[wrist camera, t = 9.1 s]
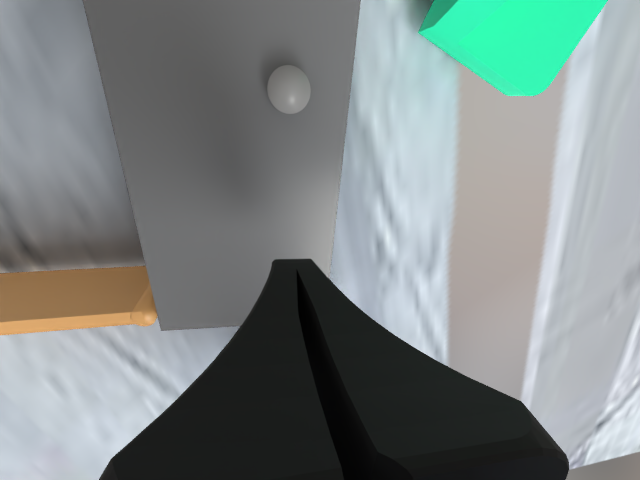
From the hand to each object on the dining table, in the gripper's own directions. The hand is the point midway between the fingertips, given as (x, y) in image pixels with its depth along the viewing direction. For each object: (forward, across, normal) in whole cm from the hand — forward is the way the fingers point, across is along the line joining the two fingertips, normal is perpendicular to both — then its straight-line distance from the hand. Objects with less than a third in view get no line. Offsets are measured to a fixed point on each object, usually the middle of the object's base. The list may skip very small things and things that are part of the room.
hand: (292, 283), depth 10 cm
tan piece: (+9, +13, +5) cm, 17 cm away
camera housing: (+9, +2, -2) cm, 10 cm away
